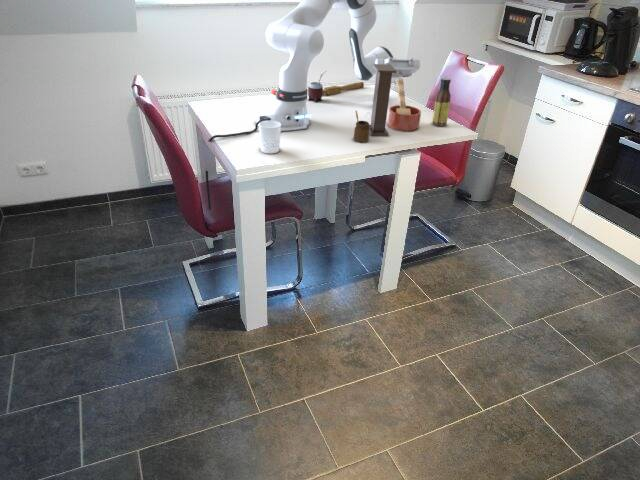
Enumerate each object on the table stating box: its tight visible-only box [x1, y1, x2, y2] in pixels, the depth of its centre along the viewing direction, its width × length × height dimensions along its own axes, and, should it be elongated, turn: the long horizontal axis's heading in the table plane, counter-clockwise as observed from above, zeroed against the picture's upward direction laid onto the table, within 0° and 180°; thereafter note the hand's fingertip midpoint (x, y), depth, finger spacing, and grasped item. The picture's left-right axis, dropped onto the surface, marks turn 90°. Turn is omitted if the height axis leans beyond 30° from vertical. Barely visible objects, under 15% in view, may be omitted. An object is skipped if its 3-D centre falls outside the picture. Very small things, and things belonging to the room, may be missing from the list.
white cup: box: [258, 120, 282, 154], centre depth 177 cm, size 8×8×10 cm
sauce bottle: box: [432, 77, 452, 127], centre depth 208 cm, size 6×6×20 cm
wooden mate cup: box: [353, 109, 372, 143], centre depth 190 cm, size 6×6×12 cm
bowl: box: [387, 104, 422, 132], centre depth 208 cm, size 13×13×7 cm
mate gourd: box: [307, 70, 327, 103], centre depth 230 cm, size 8×8×15 cm
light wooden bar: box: [396, 77, 411, 115], centre depth 210 cm, size 22×6×2 cm
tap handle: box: [322, 81, 365, 96], centre depth 249 cm, size 3×3×30 cm
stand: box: [369, 64, 396, 137], centre depth 195 cm, size 10×7×26 cm
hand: (401, 59), depth 211 cm, fingers open, 8 cm apart
